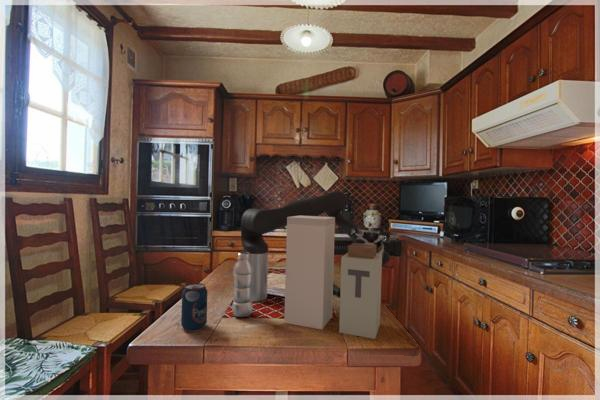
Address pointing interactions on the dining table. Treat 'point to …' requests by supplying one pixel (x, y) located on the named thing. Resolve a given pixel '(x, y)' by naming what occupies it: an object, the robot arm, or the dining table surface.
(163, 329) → the dining table surface
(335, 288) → the door handle
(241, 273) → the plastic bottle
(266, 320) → the dining table surface
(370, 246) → the walnut paddle
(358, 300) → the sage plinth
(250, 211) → the robot arm
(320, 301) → the cream stand
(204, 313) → the soda can
